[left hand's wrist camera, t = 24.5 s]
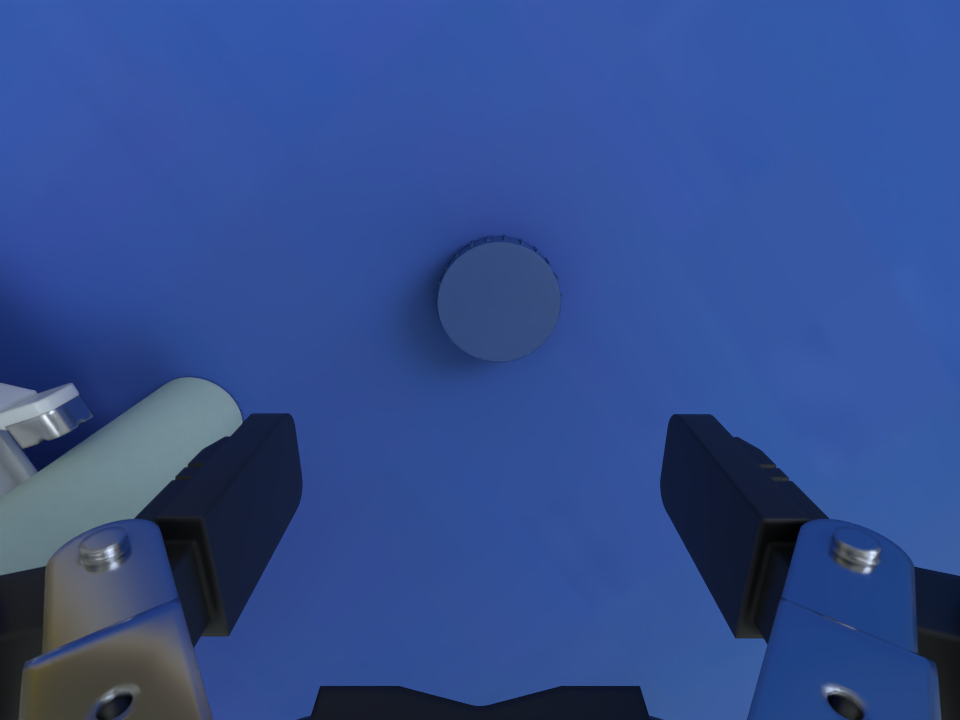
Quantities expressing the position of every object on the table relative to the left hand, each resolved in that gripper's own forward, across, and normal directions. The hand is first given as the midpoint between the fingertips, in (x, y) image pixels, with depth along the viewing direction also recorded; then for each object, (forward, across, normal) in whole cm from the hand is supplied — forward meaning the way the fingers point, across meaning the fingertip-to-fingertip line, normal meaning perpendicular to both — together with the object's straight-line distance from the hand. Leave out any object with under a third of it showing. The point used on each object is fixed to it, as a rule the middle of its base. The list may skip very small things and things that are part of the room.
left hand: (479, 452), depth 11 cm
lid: (+12, -1, 0) cm, 12 cm away
